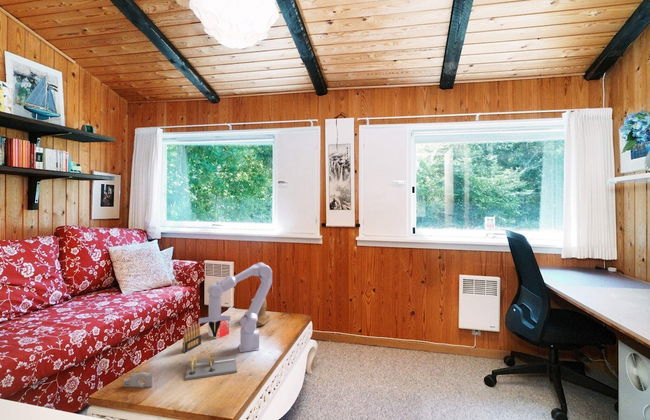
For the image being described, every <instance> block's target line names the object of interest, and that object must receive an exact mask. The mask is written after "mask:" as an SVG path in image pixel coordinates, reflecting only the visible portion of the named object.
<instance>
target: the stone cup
mask: <svg viewBox="0 0 650 420" xmlns="http://www.w3.org/2000/svg"><path fill="white" fill-rule="evenodd" d="M253 299H254V297H253V298H251V300H250V304H251V303H252V301H253ZM267 303H268V302H267V299H266V297H265V300H264V302H263V304H262V306H261V308H260V310H259V313H258V315H257V318H258V320H257V323H256V327H261V326H263V325H265V324H266V323H267V322H269V320H270V319H271V315H266V311H267V306H268V305H267Z"/></svg>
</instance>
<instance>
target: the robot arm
mask: <svg viewBox="0 0 650 420" xmlns="http://www.w3.org/2000/svg"><path fill="white" fill-rule="evenodd" d="M273 272H274V271H273V270H272V268H271V266H269V265H267V264H265V263H264V262H262V261H261V262H257V263H254V264H252V265H251V266H250V267H248V268H246V269H245V270H243V271H241V272H240V273H238V274H236V275H229V276H228V275H226V276H225V278H223V279H221V280H219V281H218V280H217V281H216V283H211V284H210V285H209V286H208V288H207V292H208V316H206V317H200V318H199V317H198V322H199V324H205V323H207V324H208V322H209V326H210V328H211V330H212V333H213V337H212V338H214V337H216V335H217V331H218V328H219V326H220V324H221V321H227V320H228V321H229V322H230V321H231V315H222V297H221V296H222V295H223V293H225V292H227V291H229V290H231V289H232V288H234V287H236V286H237V283H239V282H241V281H244V280H245V279H248V278H251V276H253V277H259V280H260V285H259V287H258V289H257V291H256V293H255V295H254V297H253V298H254V299H253V298H252V299H253V301H252V303H251V302H250V305H249V308H248V310H247V311H245V313H244V315H242V316H241V318H240V319H239V322H238V323H239V325H240V327H241V329H240V331H239V332H240V335H239V337H240V344H239V345H238V347H239V353H243V352H244V353H245V352H251V351H259V350H260V331H259V329H257V326H256V323H257V320H258V318H257V315H258V313H259V310H260V308H261V306H262V304H263V302H264V300H265V298H266V297H267V295H268V293H269V290H270V289H271V288H272V287H271V286H272V284H273ZM214 322H215V330H214Z"/></svg>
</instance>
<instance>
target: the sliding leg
mask: <svg viewBox="0 0 650 420" xmlns="http://www.w3.org/2000/svg"><path fill="white" fill-rule="evenodd" d="M214 358H215V353H214V352H212V353H208V358H207V359H208V364H210V370H211V369H212V364H214Z"/></svg>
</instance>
